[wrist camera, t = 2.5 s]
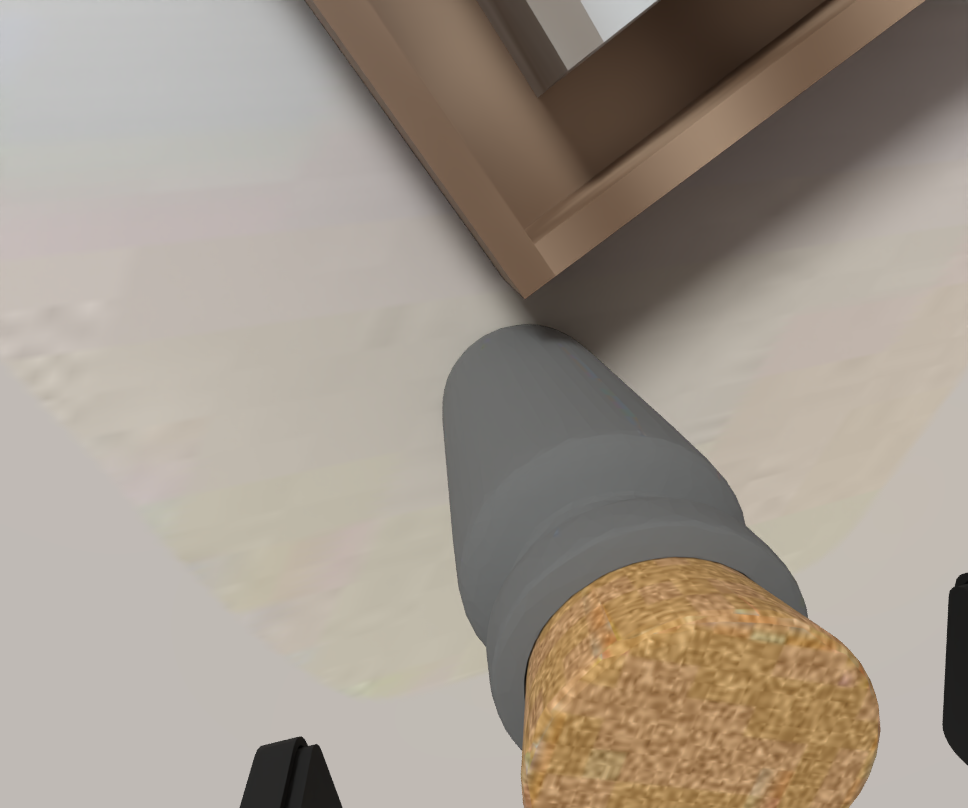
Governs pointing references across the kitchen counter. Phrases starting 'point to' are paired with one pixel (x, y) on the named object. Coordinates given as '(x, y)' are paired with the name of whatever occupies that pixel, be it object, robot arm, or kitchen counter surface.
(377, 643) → the kitchen counter surface
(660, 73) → the walled box
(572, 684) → the bottle
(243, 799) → the robot arm
